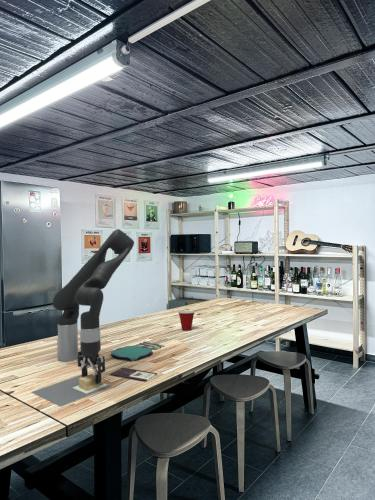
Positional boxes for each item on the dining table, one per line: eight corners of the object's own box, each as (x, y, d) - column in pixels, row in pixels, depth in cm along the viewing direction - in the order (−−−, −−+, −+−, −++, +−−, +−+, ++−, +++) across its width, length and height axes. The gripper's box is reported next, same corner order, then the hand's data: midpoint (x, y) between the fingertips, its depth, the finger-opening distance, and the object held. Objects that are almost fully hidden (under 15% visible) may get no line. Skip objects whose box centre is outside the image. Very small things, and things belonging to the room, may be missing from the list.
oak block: (96, 381, 143) (95, 372, 143) (104, 384, 140) (103, 374, 140) (78, 387, 137) (78, 378, 137) (86, 390, 134) (86, 381, 134)
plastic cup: (195, 327, 234) (195, 309, 233) (194, 332, 223) (194, 312, 223) (179, 327, 235) (178, 309, 234) (177, 331, 224) (176, 312, 224)
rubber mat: (30, 393, 134) (30, 391, 134) (81, 376, 151) (81, 374, 151) (60, 408, 122) (60, 406, 122) (111, 387, 139) (111, 385, 139)
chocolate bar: (122, 367, 160) (157, 373, 152) (122, 369, 160) (157, 375, 152) (109, 374, 152) (145, 380, 144) (109, 376, 152) (145, 382, 144)
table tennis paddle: (103, 357, 177) (103, 352, 177) (142, 343, 202) (142, 339, 202) (134, 364, 166) (134, 359, 166) (171, 348, 191) (171, 344, 191)
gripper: (110, 339, 137) (110, 382, 137) (87, 334, 146) (88, 374, 146) (93, 344, 131) (94, 388, 131) (71, 338, 140) (72, 379, 140)
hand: (91, 380), depth 139 cm, fingers open, 8 cm apart
